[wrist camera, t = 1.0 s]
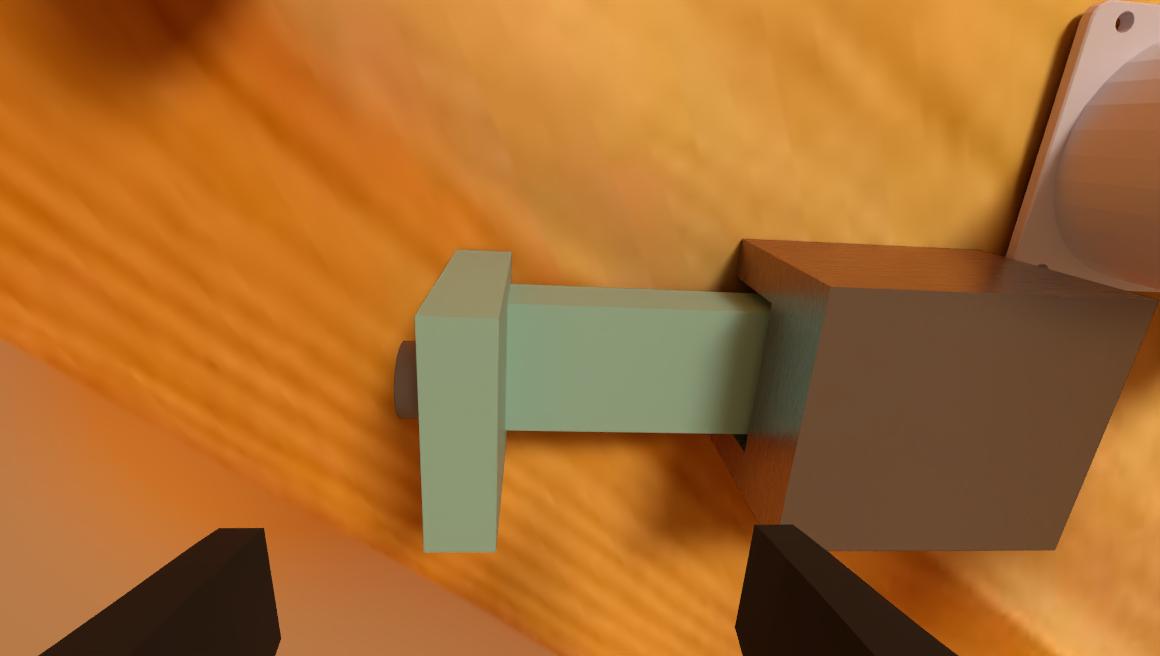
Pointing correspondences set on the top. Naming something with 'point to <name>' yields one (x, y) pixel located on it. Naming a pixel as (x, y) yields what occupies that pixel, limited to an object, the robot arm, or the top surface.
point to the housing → (927, 394)
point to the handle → (560, 376)
